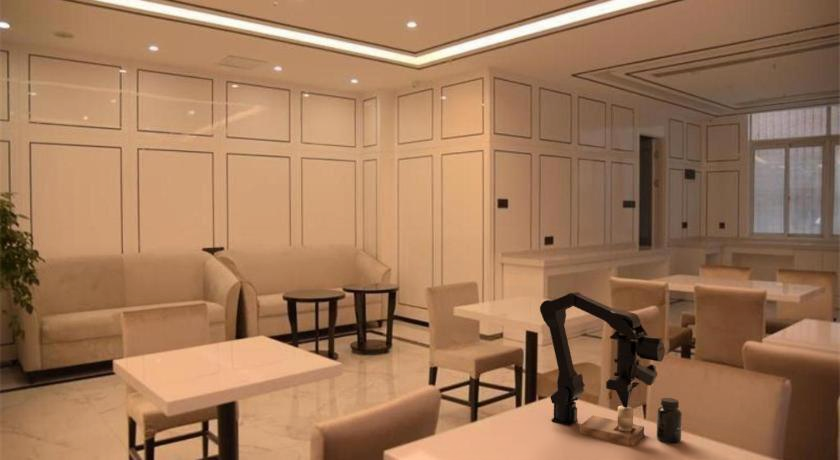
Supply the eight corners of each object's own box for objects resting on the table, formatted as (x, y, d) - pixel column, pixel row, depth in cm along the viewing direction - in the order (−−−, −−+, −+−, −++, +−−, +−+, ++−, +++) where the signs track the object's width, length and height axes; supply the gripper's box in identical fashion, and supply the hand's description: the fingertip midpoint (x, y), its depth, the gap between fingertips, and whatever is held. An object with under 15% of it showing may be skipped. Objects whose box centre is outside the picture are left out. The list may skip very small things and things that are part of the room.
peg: (615, 438, 178) (615, 408, 178) (619, 433, 181) (620, 404, 181) (630, 441, 175) (630, 411, 175) (634, 437, 179) (635, 407, 179)
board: (579, 433, 181) (580, 425, 181) (592, 423, 190) (592, 415, 190) (633, 446, 172) (633, 437, 172) (644, 434, 181) (644, 426, 181)
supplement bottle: (683, 445, 173) (684, 404, 173) (658, 443, 175) (659, 402, 174) (678, 436, 180) (679, 397, 179) (654, 434, 181) (655, 395, 181)
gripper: (645, 366, 165) (644, 422, 166) (663, 353, 180) (661, 404, 181) (605, 360, 172) (604, 413, 172) (625, 348, 187) (624, 397, 187)
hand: (625, 407), depth 178 cm, fingers closed
